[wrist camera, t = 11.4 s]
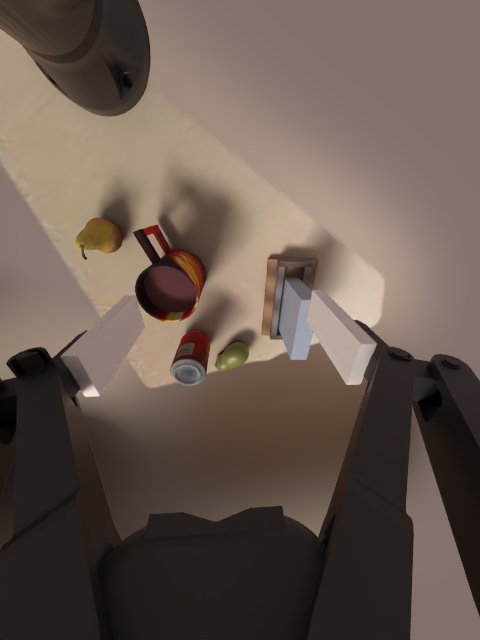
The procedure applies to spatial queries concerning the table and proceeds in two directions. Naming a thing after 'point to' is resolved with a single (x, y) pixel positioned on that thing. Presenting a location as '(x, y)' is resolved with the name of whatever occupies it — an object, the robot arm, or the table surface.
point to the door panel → (295, 318)
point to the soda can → (191, 358)
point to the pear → (232, 356)
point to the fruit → (99, 237)
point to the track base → (274, 288)
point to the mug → (168, 279)
